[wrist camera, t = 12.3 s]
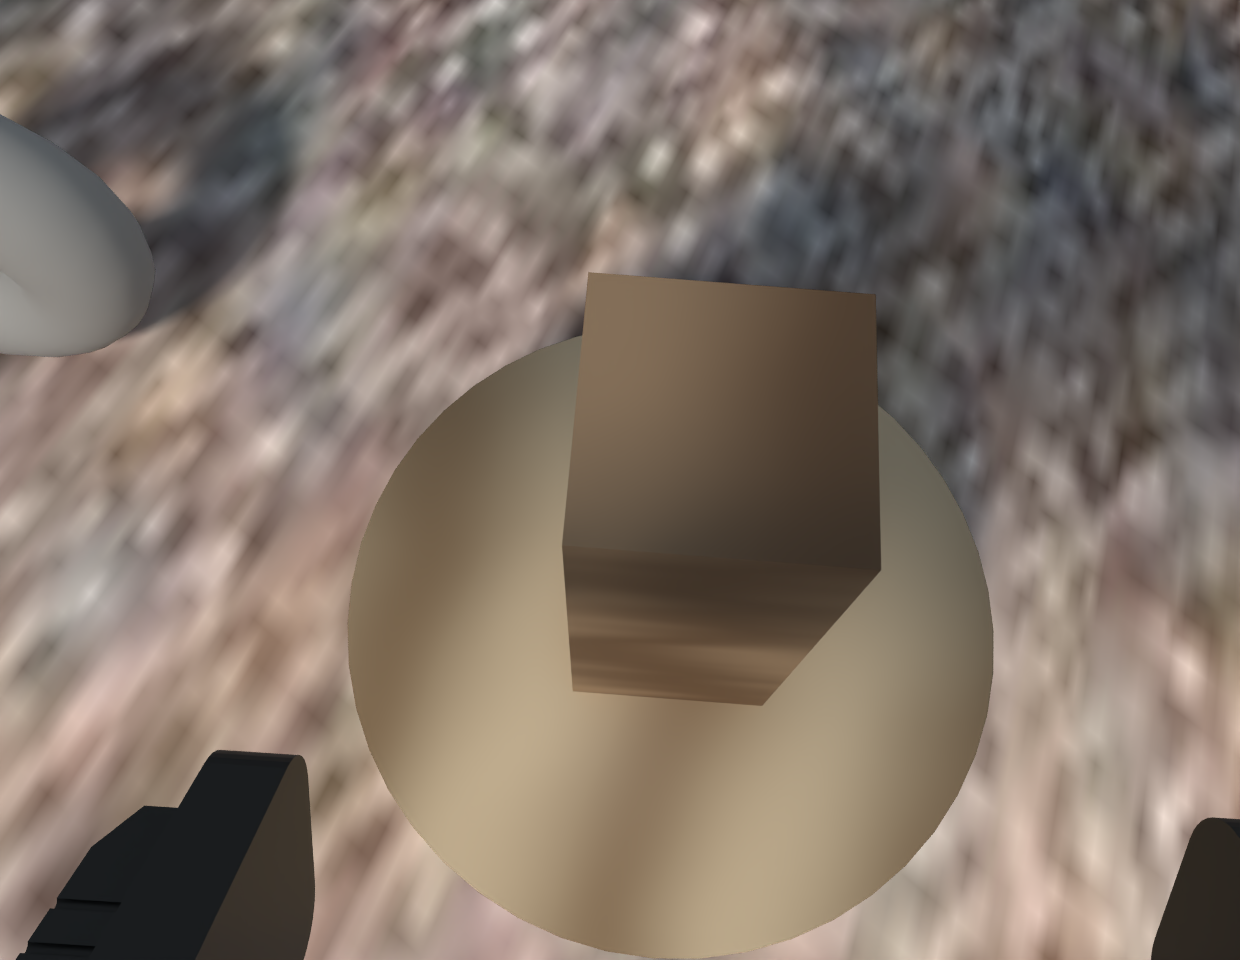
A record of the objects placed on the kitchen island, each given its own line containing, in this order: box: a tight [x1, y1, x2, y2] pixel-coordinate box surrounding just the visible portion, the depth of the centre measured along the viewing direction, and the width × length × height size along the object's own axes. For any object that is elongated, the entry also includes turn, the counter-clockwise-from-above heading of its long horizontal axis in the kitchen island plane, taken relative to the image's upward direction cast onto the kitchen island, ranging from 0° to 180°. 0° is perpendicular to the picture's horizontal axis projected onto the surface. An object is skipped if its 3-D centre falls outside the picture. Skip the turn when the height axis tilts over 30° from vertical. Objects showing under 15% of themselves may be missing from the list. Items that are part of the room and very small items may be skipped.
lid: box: [348, 272, 993, 958], centre depth 19 cm, size 14×14×11 cm
